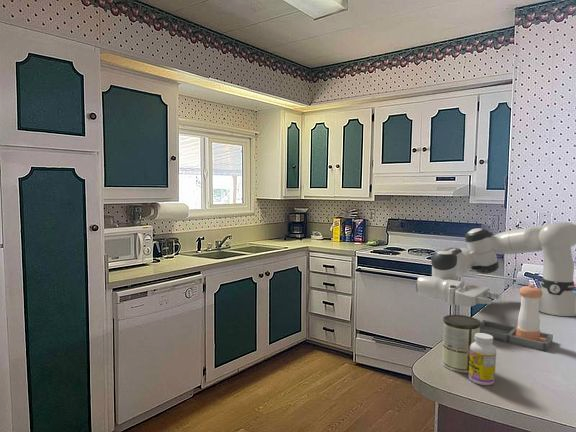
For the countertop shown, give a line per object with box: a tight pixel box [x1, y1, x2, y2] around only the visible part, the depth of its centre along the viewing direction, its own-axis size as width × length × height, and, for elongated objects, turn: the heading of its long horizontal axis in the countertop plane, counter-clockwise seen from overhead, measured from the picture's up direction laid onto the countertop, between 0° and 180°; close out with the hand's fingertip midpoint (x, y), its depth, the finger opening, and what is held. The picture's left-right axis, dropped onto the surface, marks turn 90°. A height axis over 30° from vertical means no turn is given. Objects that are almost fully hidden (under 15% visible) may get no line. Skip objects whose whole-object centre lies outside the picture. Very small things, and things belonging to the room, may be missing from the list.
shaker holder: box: [480, 319, 554, 352], centre depth 153 cm, size 12×23×2 cm, turn 50°
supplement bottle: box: [467, 333, 497, 386], centre depth 118 cm, size 7×7×13 cm
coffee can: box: [441, 314, 482, 374], centre depth 128 cm, size 10×10×14 cm
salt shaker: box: [515, 284, 542, 341], centre depth 149 cm, size 7×7×19 cm
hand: (495, 299), depth 156 cm, fingers open, 8 cm apart
